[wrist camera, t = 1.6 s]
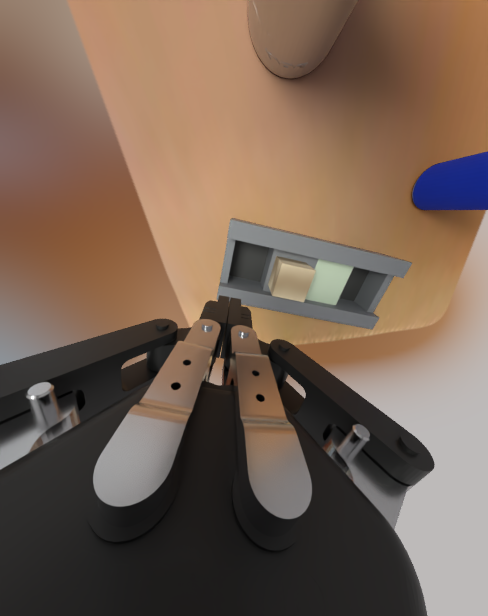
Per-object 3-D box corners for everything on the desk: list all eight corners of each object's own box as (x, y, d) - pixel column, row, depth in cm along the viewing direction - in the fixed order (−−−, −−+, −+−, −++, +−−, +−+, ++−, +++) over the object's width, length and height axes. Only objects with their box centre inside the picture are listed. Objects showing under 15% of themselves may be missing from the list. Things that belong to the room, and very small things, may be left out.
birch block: (276, 255, 25) (282, 263, 22) (305, 262, 26) (316, 270, 22) (267, 284, 27) (272, 295, 23) (295, 290, 27) (303, 302, 24)
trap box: (232, 217, 27) (230, 219, 22) (383, 254, 29) (412, 262, 24) (220, 285, 31) (216, 299, 26) (353, 312, 34) (372, 329, 29)
